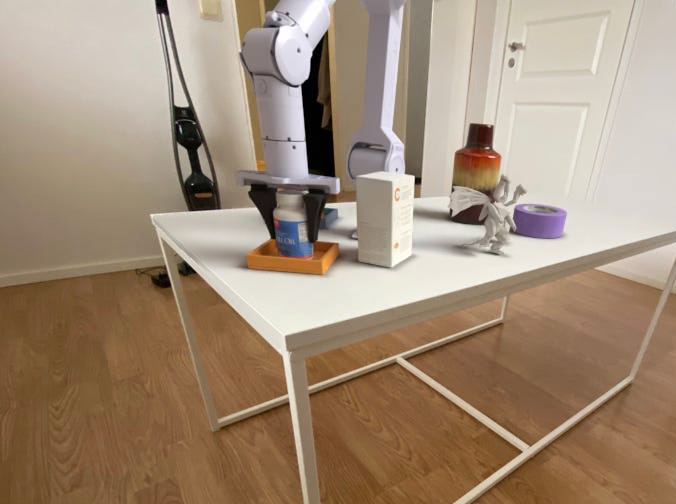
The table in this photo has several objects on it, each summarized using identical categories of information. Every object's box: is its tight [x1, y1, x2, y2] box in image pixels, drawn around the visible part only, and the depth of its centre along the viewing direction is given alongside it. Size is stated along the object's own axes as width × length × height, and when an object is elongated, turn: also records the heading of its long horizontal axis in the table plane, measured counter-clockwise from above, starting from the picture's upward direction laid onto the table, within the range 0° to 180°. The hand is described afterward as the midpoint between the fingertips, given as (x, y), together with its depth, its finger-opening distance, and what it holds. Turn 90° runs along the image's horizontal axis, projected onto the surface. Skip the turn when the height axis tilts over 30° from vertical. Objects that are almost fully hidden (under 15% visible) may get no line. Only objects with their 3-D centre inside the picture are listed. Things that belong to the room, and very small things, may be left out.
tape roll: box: [510, 203, 568, 239], centre depth 92 cm, size 12×12×5 cm
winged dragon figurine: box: [446, 173, 528, 255], centre depth 75 cm, size 10×18×14 cm, turn 125°
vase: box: [448, 122, 503, 226], centre depth 94 cm, size 11×11×20 cm
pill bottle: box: [273, 189, 314, 260], centre depth 61 cm, size 6×5×10 cm
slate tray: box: [319, 207, 339, 230], centre depth 86 cm, size 11×10×2 cm
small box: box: [355, 171, 416, 269], centre depth 65 cm, size 8×6×13 cm
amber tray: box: [245, 238, 340, 276], centre depth 63 cm, size 11×10×2 cm
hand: (294, 239), depth 62 cm, fingers closed on pill bottle, 5 cm apart
